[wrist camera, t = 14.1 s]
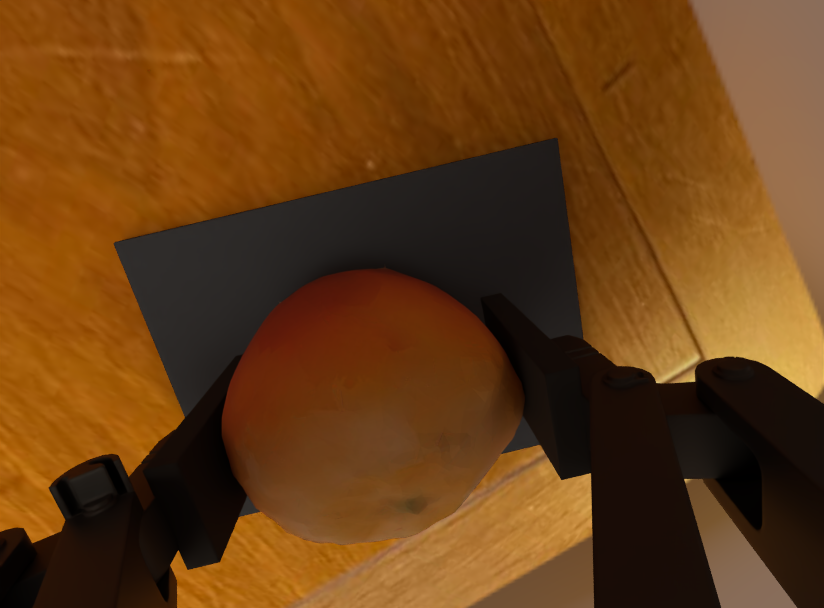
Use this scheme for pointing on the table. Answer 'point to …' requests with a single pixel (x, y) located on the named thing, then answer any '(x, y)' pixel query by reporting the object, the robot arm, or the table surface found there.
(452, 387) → the fruit
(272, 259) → the mat
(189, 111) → the table surface
